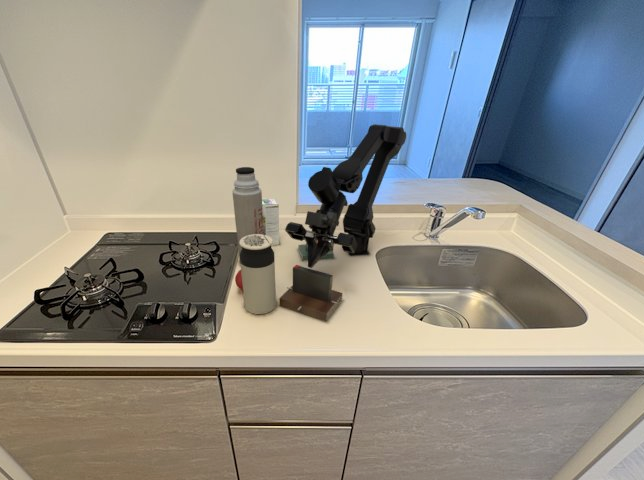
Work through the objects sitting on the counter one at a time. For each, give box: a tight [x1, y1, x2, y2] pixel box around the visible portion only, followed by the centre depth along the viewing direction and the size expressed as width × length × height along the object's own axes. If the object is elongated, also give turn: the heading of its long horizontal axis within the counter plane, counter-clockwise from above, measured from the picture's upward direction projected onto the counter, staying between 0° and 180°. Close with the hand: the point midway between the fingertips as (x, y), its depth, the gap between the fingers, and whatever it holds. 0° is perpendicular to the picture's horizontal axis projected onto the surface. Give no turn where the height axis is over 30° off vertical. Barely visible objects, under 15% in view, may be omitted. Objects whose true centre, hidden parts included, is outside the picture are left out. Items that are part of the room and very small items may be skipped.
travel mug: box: [239, 234, 277, 315], centre depth 77 cm, size 8×8×18 cm
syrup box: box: [262, 198, 280, 246], centre depth 109 cm, size 6×6×14 cm
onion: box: [234, 269, 243, 291], centre depth 86 cm, size 6×6×8 cm
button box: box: [297, 242, 335, 261], centre depth 105 cm, size 10×8×4 cm
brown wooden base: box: [278, 284, 343, 322], centre depth 83 cm, size 14×14×3 cm
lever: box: [292, 264, 334, 302], centre depth 80 cm, size 10×2×7 cm, turn 60°
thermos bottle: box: [231, 166, 264, 266], centre depth 93 cm, size 8×8×28 cm
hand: (309, 267), depth 83 cm, fingers closed
